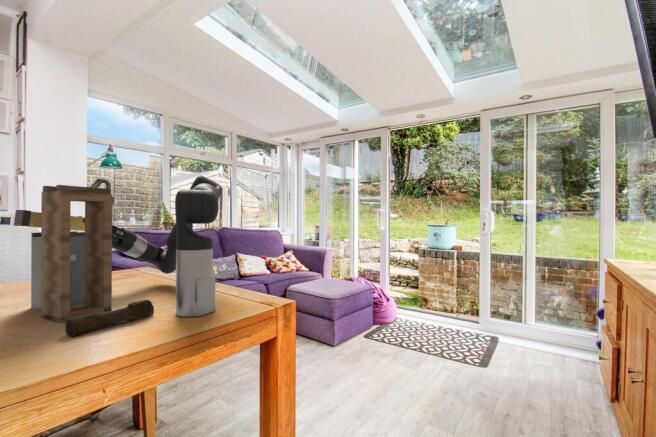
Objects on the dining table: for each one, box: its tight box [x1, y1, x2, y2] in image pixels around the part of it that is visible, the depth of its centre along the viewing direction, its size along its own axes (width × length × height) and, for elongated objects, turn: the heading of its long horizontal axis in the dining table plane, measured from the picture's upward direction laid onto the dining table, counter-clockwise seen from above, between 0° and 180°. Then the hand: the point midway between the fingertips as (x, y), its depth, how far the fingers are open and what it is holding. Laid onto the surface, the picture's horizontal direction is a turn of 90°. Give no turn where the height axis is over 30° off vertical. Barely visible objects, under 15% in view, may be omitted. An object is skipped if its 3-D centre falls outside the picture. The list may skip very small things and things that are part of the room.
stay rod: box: [13, 209, 85, 232], centre depth 96 cm, size 4×22×4 cm, turn 154°
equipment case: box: [30, 230, 85, 311], centre depth 95 cm, size 9×11×21 cm
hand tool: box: [64, 299, 155, 338], centre depth 78 cm, size 19×4×5 cm, turn 147°
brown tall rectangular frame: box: [40, 184, 113, 324], centre depth 86 cm, size 9×12×34 cm
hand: (81, 218), depth 99 cm, fingers closed on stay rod, 4 cm apart
